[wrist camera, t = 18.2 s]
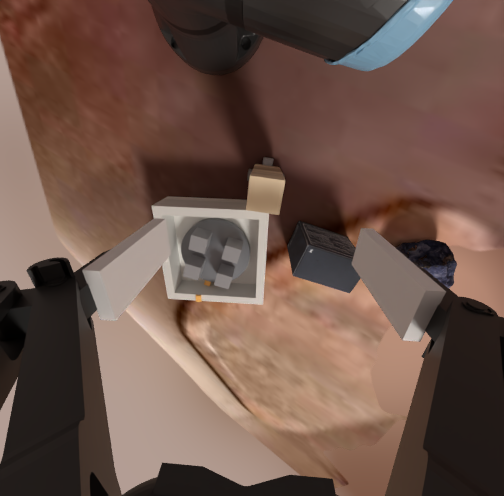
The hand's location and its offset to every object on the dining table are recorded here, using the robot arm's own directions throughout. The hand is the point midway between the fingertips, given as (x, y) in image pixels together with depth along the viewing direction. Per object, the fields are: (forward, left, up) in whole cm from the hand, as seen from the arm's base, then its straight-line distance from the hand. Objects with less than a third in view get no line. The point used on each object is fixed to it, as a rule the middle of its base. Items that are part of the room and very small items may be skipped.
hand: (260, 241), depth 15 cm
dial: (+14, -9, -24) cm, 29 cm away
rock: (+15, +29, -27) cm, 42 cm away
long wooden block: (0, 0, -27) cm, 27 cm away
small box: (+12, +11, -27) cm, 32 cm away
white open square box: (+13, -8, -27) cm, 31 cm away
